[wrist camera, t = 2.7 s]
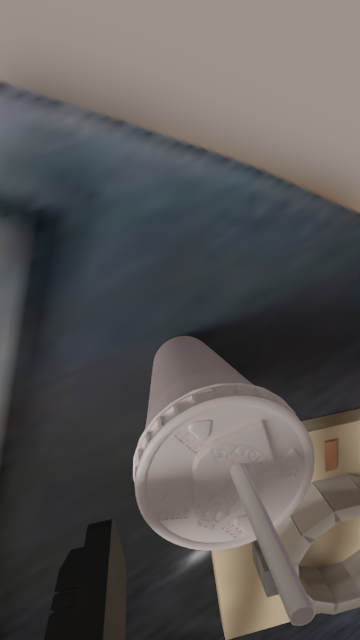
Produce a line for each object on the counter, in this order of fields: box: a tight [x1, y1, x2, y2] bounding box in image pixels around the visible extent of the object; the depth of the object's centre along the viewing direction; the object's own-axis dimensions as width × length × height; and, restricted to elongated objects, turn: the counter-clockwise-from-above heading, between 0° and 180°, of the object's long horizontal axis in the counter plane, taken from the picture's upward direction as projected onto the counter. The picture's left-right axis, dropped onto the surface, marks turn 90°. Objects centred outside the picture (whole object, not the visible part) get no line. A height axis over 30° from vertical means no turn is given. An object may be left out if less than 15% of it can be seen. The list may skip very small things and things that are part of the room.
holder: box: [211, 408, 360, 640], centre depth 24 cm, size 18×18×4 cm
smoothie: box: [133, 336, 315, 626], centre depth 13 cm, size 6×6×14 cm
